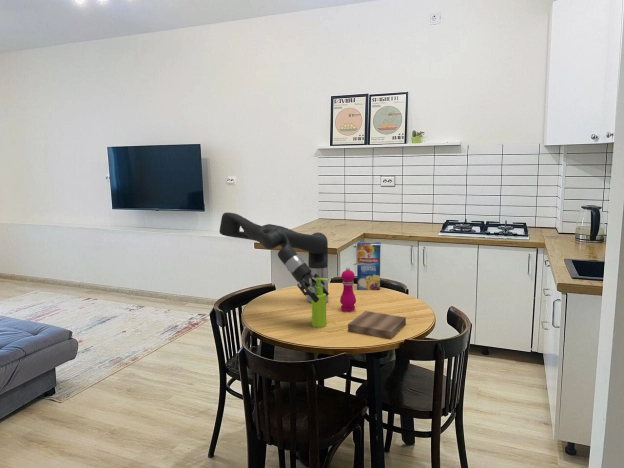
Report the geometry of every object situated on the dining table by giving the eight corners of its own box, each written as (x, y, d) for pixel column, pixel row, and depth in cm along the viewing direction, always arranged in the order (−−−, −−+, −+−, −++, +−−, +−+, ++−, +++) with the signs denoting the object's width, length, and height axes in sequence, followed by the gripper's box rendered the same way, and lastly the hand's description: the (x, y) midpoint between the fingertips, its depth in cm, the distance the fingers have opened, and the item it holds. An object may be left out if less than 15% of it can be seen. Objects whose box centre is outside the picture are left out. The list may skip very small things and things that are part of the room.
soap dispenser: (327, 328, 190) (327, 280, 187) (310, 327, 192) (310, 279, 188) (329, 323, 196) (329, 276, 193) (313, 322, 197) (313, 276, 194)
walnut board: (347, 331, 187) (347, 324, 186) (365, 317, 202) (365, 310, 202) (390, 339, 178) (391, 331, 178) (405, 324, 194) (405, 317, 193)
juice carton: (356, 289, 244) (357, 244, 240) (357, 285, 251) (357, 242, 247) (380, 290, 243) (380, 245, 239) (379, 286, 250) (380, 242, 246)
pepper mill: (358, 308, 214) (358, 266, 211) (352, 313, 208) (352, 269, 205) (343, 306, 217) (343, 264, 214) (337, 311, 211) (337, 268, 208)
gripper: (301, 269, 203) (324, 299, 199) (283, 277, 190) (308, 308, 187) (311, 259, 199) (335, 288, 196) (294, 266, 187) (319, 297, 183)
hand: (322, 298), depth 191 cm, fingers open, 8 cm apart
